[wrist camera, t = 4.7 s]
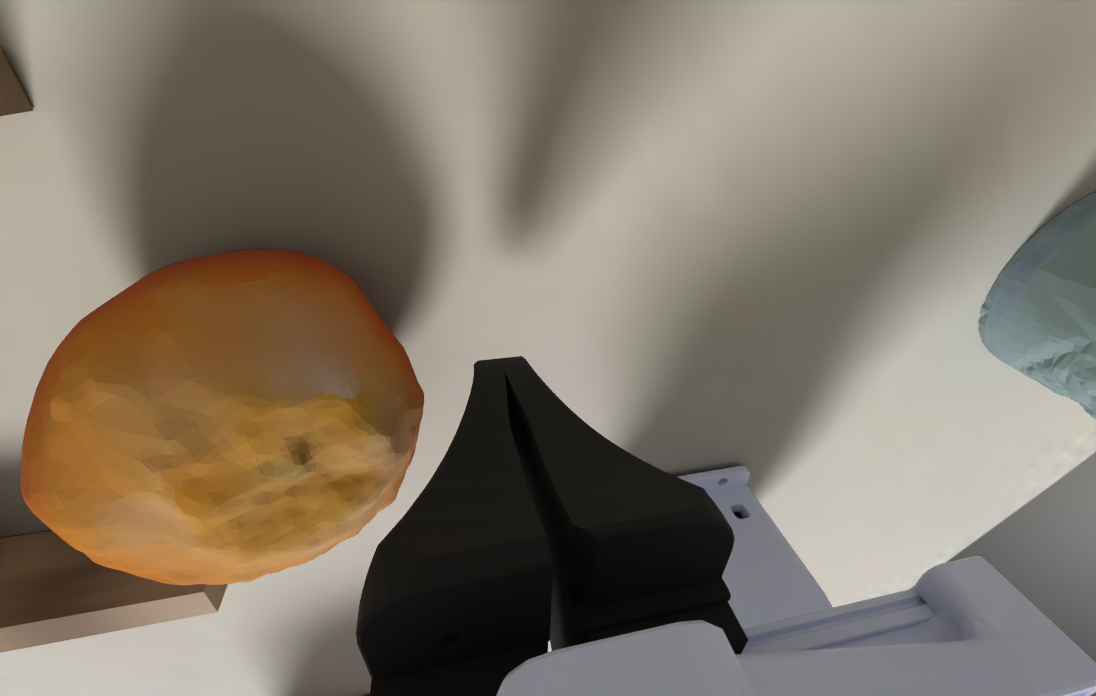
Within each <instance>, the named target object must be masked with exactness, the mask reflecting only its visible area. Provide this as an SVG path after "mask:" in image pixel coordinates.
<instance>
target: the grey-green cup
mask: <svg viewBox="0 0 1096 696" xmlns="http://www.w3.org/2000/svg"><path fill="white" fill-rule="evenodd" d="M981 316H982V317H981V319H980V320H979V324H980V326H979V332H980V336H981V338H982V342H983V343H984V345H985V346H986V348H987V349H988V350H989V351H990V352H991V353H992V354H993V355H994V356H995V357H997V358H998V359H1000V360H1001V361H1003V362H1005V363H1006V364H1008V365H1010V366H1011V367H1013V368H1015V369H1017V370H1018V371H1020V372H1021V373H1023V374H1024V375H1026V376H1027V377H1029V378H1031V379H1034V380H1036V381H1037V382H1039V383H1040V384H1042V385H1043V386H1045V387H1047V388H1048V389H1050V390H1051V391H1053V392H1054V393H1057V394H1059V395H1062V396H1066V397H1069V398H1070V399H1071V400H1074V401H1075V402H1079V404H1080V405H1081V406H1082V407H1083V408H1084V410H1085V411H1086V412H1087V413H1088V414H1090V415H1091V416H1092V417H1093V418H1095V419H1096V192H1094V193H1092V194H1089V195H1087V196H1086V197H1084V198H1082V199H1081V200H1079V201H1077V202H1075V203H1074V204H1072V205H1071V206H1069V207H1068V208H1066V209H1065V210H1063V211H1062V212H1060V213H1059V214H1058V215H1057V216H1055V217H1054V218H1053V219H1052V220H1050V221H1049V222H1048V223H1047V224H1045V225H1044V226H1043V227H1042V228H1041V229H1040V230H1039V231H1038V232H1036V233H1035V234H1034V235H1033V236H1032V237H1031V238H1030V239H1029V240H1028V241H1027V242H1026V243H1025V244H1024V245H1023V246H1022V247H1021V249H1020V250H1019V251H1018V252H1017V253H1016V254H1015V255H1014V257H1013V258H1012V259H1011V260H1010V261H1009V263H1008V264H1007V265H1006V266H1005V267H1004V269H1003V270H1002V271H1001V272H1000V274H999V276H998V278H997V279H996V281H995V283H994V285H993V286H992V288H991V290H990V292H989V293H988V295H987V298H986V302H985V303H984V305H983V306H982V307H981Z"/></svg>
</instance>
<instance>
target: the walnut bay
mask: <svg viewBox="0 0 1096 696" xmlns="http://www.w3.org/2000/svg"><path fill="white" fill-rule="evenodd" d="M32 110H33V108H32V106H31V104H30V102H29V100H28V98H27V96H26V94H25V93H24V91H23V89H22V87H21V85H20V83H19V81H18V79H17V77H16V75H15V73H14V72H13V70H12V68H11V66H10V64H9V62H8V60H7V58H6V56H5V54H4V53H3V51H2V49H1V47H0V116H4V115H10V114H15V113H21V112H27V111H32ZM227 585H228V584H223V585H208V584H194V585H174V584H165V583H161V582H158V581H155V580H151V579H147V578H143V577H139V576H136V575H133V574H130V573H127V572H124V571H120V570H116V569H112V568H108V567H104V566H102V565H99V564H97V563H95V562H93V561H92V560H91V559H90V558H89V557H88V556H86V555H85V554H84V553H83V552H80V551H78V550H76V549H74V548H73V547H72V546H70V545H69V544H68V543H66V542H65V541H64V540H63V539H62V538H60V537H59V536H58V535H57V534H56V533H55V532H53V531H46V532H39V533H32V534H26V535H19V536H12V537H6V538H0V652H6V651H11V650H16V649H22V648H27V647H33V646H38V645H43V644H49V643H54V642H59V641H65V640H70V639H75V638H81V637H86V636H91V635H97V634H102V633H107V632H113V631H118V630H123V629H129V628H134V627H139V626H145V625H150V624H155V623H161V622H166V621H171V620H177V619H182V618H188V617H193V616H198V615H204V614H209V613H214V612H218V609H219V606H220V604H221V601H222V598H223V596H224V593H225V590H226V587H227Z"/></svg>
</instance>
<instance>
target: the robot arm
mask: <svg viewBox="0 0 1096 696" xmlns="http://www.w3.org/2000/svg"><path fill="white" fill-rule="evenodd" d="M749 478H750V472H749V471H748V470H747V468H746V467H744V466H737V467H731V468H725V469H719V470H713V471H707V472H701V473H695V474H689V475H683V476H677V477H675V476H673V475H671V474H668V473H666V472H664V471H662V470H660V469H658V468H656V467H654V466H652V465H650V464H648V463H646V462H644V461H642V460H640V459H639V458H637V457H635V456H633V455H631V454H630V453H628V452H627V451H625V450H623V449H622V448H620V447H618V446H617V445H615V444H614V443H612V442H610V441H609V440H608V439H606V438H605V437H603V436H602V435H600V434H599V433H598V432H596V431H595V430H594V429H593V428H591V427H590V426H589V425H588V424H586V423H585V422H584V421H583V420H582V419H580V418H579V417H578V416H577V415H576V414H575V413H574V412H573V411H572V410H570V409H569V408H568V407H567V406H566V405H565V404H564V403H563V402H562V401H561V400H560V399H559V398H558V397H557V396H556V395H555V394H554V393H553V392H552V391H551V390H550V388H549V387H548V386H547V385H546V384H545V383H544V382H543V381H542V379H541V378H540V377H539V376H538V375H537V373H536V372H535V371H534V370H533V369H532V367H531V366H530V365H529V363H528V362H527V361H526V359H525V358H523V357H522V356H519V357H510V358H500V359H491V360H481V361H477V362H476V363H475V364H474V378H473V384H472V388H471V393H470V396H469V399H468V403H467V406H466V409H465V412H464V415H463V417H462V420H461V422H460V425H459V427H458V430H457V432H456V434H455V437H454V439H453V441H452V443H451V445H450V447H449V449H448V451H447V453H446V455H445V456H444V458H443V460H442V462H441V463H440V465H439V467H438V468H437V470H436V472H435V473H434V475H433V477H432V478H431V480H430V481H429V483H428V484H427V486H426V487H425V489H424V490H423V491H422V493H421V494H420V495H419V497H418V498H417V499H416V501H415V502H414V503H413V505H412V506H411V507H410V509H409V510H408V511H407V513H406V514H405V515H404V516H403V518H402V519H401V520H400V521H399V522H398V523H397V524H396V526H395V527H394V528H393V529H392V530H391V531H390V532H389V533H388V535H387V536H386V537H385V538H384V539H383V540H382V541H381V542H380V543H379V545H378V546H377V549H376V551H375V554H374V556H373V559H372V562H371V564H370V567H369V570H368V573H367V576H366V580H365V583H364V587H363V591H362V595H361V600H360V605H359V613H358V622H357V630H356V636H357V644H358V647H359V649H360V652H361V654H362V656H363V659H364V661H365V664H366V666H367V668H368V671H369V673H370V676H371V678H372V682H371V694H370V696H1090V695H1092V694H1093V693H1094V692H1096V663H1095V662H1094V661H1093V660H1092V659H1091V658H1090V657H1089V656H1088V655H1086V653H1084V652H1083V651H1082V650H1081V649H1080V648H1079V647H1078V646H1077V645H1076V644H1075V643H1074V642H1073V641H1072V640H1070V639H1069V638H1068V637H1067V636H1066V635H1065V634H1064V633H1063V632H1062V631H1061V630H1060V629H1059V628H1058V627H1056V626H1055V625H1054V624H1053V623H1052V622H1051V621H1050V620H1049V619H1048V618H1047V617H1046V616H1045V615H1044V614H1042V613H1041V612H1040V611H1039V610H1038V609H1037V608H1036V607H1035V606H1034V605H1033V604H1032V603H1031V602H1030V601H1029V600H1028V599H1026V598H1025V597H1024V596H1023V595H1022V594H1021V593H1020V592H1019V591H1018V590H1017V589H1016V588H1015V587H1014V586H1012V585H1011V584H1010V583H1009V582H1008V581H1007V580H1006V579H1005V578H1004V577H1003V576H1002V575H1001V574H1000V573H999V572H997V571H996V570H995V569H994V568H993V567H992V566H991V565H990V564H989V563H988V562H987V561H986V560H984V559H983V558H982V557H979V556H974V557H970V558H966V559H961V560H957V561H952V562H948V563H943V564H940V565H937V566H935V567H933V568H931V569H929V570H928V571H927V572H926V573H924V574H923V575H922V576H921V578H920V579H919V580H918V582H917V584H916V586H915V588H914V589H910V590H906V591H901V592H897V593H893V594H889V595H885V596H880V597H876V598H872V599H868V600H864V601H859V602H855V603H851V604H847V605H843V606H838V607H834V608H833V607H832V605H831V603H830V602H829V600H828V598H827V596H826V595H825V593H824V592H823V590H822V589H821V587H820V586H819V584H818V583H817V582H816V580H815V579H814V577H813V576H812V575H811V573H810V572H809V571H808V569H807V568H806V566H805V565H804V564H803V562H802V561H801V559H800V558H799V557H798V555H797V554H796V552H795V551H794V550H793V548H792V547H791V546H790V544H789V543H788V541H787V540H786V539H785V537H784V536H783V534H782V533H781V532H780V530H779V529H778V527H777V526H776V525H775V523H774V522H773V521H772V519H771V518H770V516H769V515H768V514H767V512H766V511H765V509H764V508H763V507H762V505H761V504H760V503H759V501H758V500H757V498H756V497H755V496H754V494H753V493H752V491H751V490H750V489H749V487H748V486H747V483H748V480H749ZM548 641H550V642H551V648H552V651H551V652H548Z"/></svg>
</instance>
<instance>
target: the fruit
mask: <svg viewBox="0 0 1096 696" xmlns="http://www.w3.org/2000/svg"><path fill="white" fill-rule="evenodd" d="M423 405H424V393H423V390H422V388H421V387H420V385H419V383H418V381H417V378H416V376H415V373H414V370H413V368H412V365H411V363H410V360H409V358H408V356H407V354H406V352H405V349H404V348H403V346H402V345H401V344H400V342H399V341H398V340H397V339H396V337H395V336H394V335H393V334H392V332H391V331H390V330H389V328H388V327H387V326H386V324H385V323H384V322H383V320H382V319H381V318H380V316H379V315H378V314H377V312H376V311H375V309H374V308H373V306H372V305H371V303H370V302H369V300H368V299H367V297H366V296H365V295H364V293H363V292H362V290H361V289H360V288H359V286H358V285H357V284H356V283H355V282H354V281H353V280H352V279H351V278H350V277H349V276H348V275H347V274H345V273H344V272H342V271H341V270H339V269H337V268H335V267H333V266H331V265H330V264H328V263H327V262H325V261H323V260H321V259H318V258H316V257H313V256H310V255H307V254H304V253H300V252H295V251H288V250H281V249H258V250H240V251H232V252H226V253H221V254H215V255H209V256H204V257H198V258H193V259H188V260H184V261H180V262H177V263H174V264H171V265H168V266H165V267H163V268H161V269H159V270H156V271H154V272H152V273H150V274H148V275H146V276H145V277H143V278H142V279H140V280H139V281H137V282H136V283H134V284H133V285H131V286H130V287H128V288H127V289H125V290H124V291H122V292H121V293H119V294H118V295H116V296H115V297H113V298H112V299H110V300H109V301H107V302H106V303H104V304H103V305H101V306H100V307H98V308H97V309H96V310H94V311H93V312H91V313H90V314H88V315H87V316H86V317H84V318H83V319H82V320H80V321H79V322H78V324H77V325H76V326H75V327H74V328H73V329H72V330H71V331H70V333H69V334H68V335H67V336H66V337H65V339H64V340H63V341H62V342H61V344H60V345H59V346H58V348H57V349H56V351H55V352H54V354H53V355H52V357H51V359H50V360H49V362H48V363H47V366H46V368H45V370H44V373H43V375H42V377H41V380H40V382H39V384H38V386H37V389H36V392H35V396H34V399H33V402H32V406H31V409H30V413H29V416H28V419H27V424H26V429H25V434H24V440H23V446H22V464H21V476H20V486H21V492H22V497H23V499H24V501H25V503H26V505H27V506H28V507H29V509H30V510H31V511H32V512H33V514H34V515H36V516H37V517H38V518H39V519H40V520H41V521H42V522H43V523H44V524H45V525H46V526H48V527H49V528H50V529H51V530H52V531H53V532H55V533H56V534H57V535H58V536H59V537H60V538H62V539H63V540H64V541H65V542H66V543H68V544H69V545H70V546H72V547H73V548H74V549H76V550H78V551H80V552H83V553H84V554H85V555H86V556H88V557H89V558H90V559H91V560H92V561H93V562H95V563H97V564H99V565H102V566H104V567H108V568H112V569H116V570H120V571H124V572H127V573H130V574H133V575H136V576H139V577H143V578H147V579H151V580H155V581H158V582H161V583H165V584H174V585H194V584H208V585H223V584H230V583H237V582H249V581H252V580H255V579H257V578H259V577H261V576H263V575H265V574H269V573H275V572H279V571H281V570H284V569H286V568H288V567H292V566H297V565H300V564H304V563H306V562H308V561H310V560H312V559H314V558H316V557H317V556H319V555H321V554H323V553H325V552H327V551H328V550H330V549H331V548H332V547H334V546H335V545H337V544H338V543H340V542H342V541H344V540H346V539H348V538H351V537H353V536H355V535H356V534H358V533H359V532H360V531H361V529H362V528H363V527H364V526H365V525H366V524H367V523H369V522H370V521H371V520H372V519H373V518H374V516H375V515H376V514H377V513H378V512H379V511H380V510H382V509H384V508H385V507H387V506H389V505H390V504H391V503H392V502H393V501H394V500H395V499H396V496H397V493H398V491H399V488H400V485H401V483H402V481H403V479H404V476H405V473H406V470H407V468H408V466H409V465H410V463H411V461H412V458H413V455H414V452H415V447H416V442H417V438H418V433H419V427H420V422H421V419H422V413H423Z"/></svg>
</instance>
